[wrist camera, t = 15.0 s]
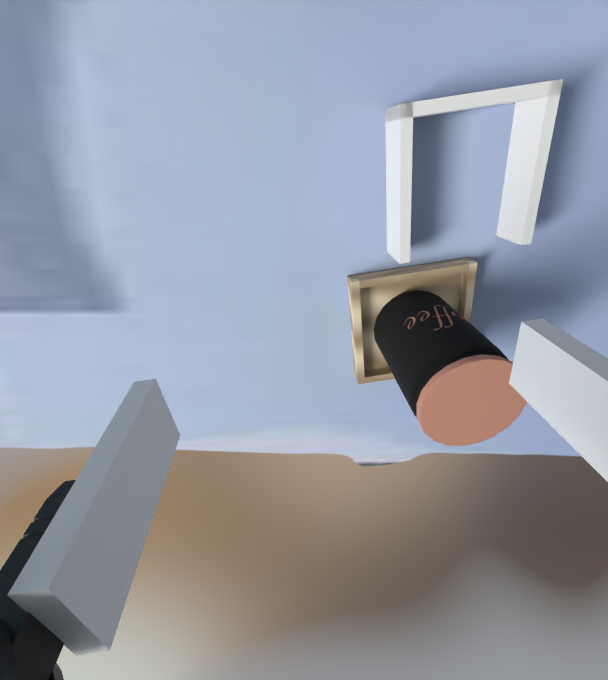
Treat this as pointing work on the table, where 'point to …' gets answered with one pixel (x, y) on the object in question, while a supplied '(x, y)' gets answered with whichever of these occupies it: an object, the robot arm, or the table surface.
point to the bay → (521, 170)
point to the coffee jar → (446, 369)
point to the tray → (381, 286)
